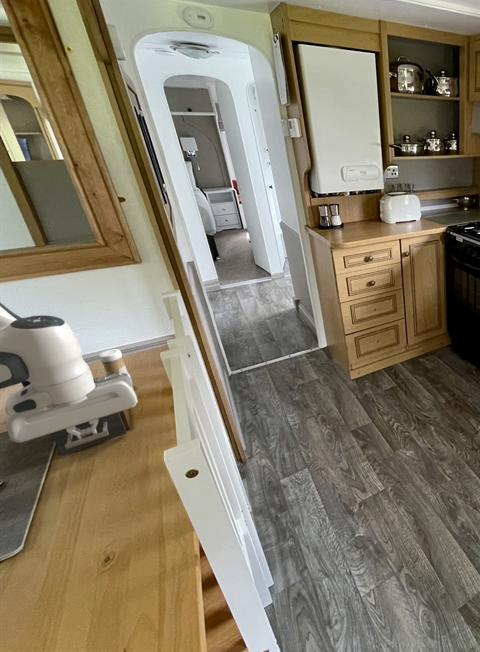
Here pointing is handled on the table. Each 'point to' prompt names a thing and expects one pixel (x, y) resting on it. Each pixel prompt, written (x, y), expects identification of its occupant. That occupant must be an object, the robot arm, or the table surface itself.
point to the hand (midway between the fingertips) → (88, 436)
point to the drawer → (105, 431)
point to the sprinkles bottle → (113, 362)
